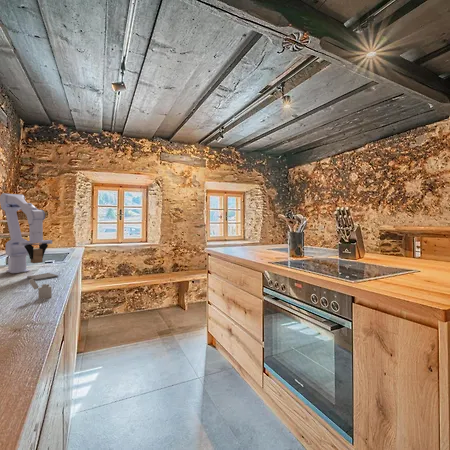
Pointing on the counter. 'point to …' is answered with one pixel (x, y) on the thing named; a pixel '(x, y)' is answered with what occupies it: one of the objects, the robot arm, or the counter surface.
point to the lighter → (42, 289)
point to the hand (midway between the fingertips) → (36, 258)
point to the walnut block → (37, 256)
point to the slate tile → (42, 276)
